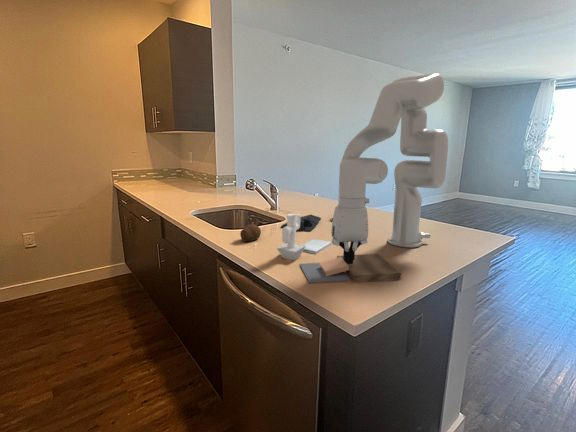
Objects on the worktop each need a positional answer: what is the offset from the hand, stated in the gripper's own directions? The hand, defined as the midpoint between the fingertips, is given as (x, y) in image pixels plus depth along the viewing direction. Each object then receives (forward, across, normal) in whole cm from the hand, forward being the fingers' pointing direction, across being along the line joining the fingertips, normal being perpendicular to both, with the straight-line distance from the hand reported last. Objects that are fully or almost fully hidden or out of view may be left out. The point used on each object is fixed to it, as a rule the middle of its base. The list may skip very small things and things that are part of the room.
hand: (348, 262), depth 97 cm
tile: (+2, +4, 0) cm, 5 cm away
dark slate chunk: (+3, +3, -56) cm, 57 cm away
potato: (+3, +28, -37) cm, 46 cm away
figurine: (+3, +15, -14) cm, 21 cm away
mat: (+3, +8, 0) cm, 8 cm away
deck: (+3, -6, 0) cm, 6 cm away
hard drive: (+4, +5, -24) cm, 25 cm away
